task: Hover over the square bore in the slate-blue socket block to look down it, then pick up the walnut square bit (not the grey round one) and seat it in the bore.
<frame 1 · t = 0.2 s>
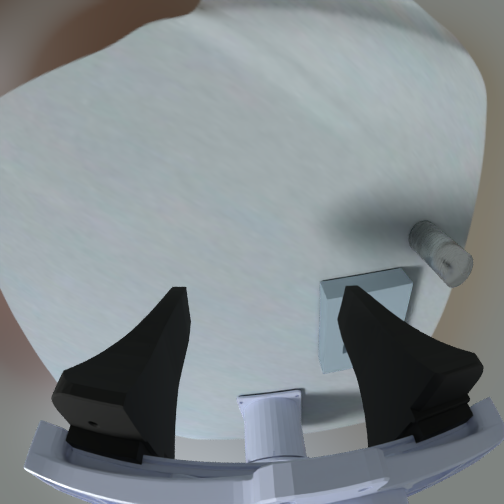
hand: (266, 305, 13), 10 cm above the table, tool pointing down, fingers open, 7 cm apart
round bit: (422, 236, 22), on the table
socket block: (358, 316, 26), on the table
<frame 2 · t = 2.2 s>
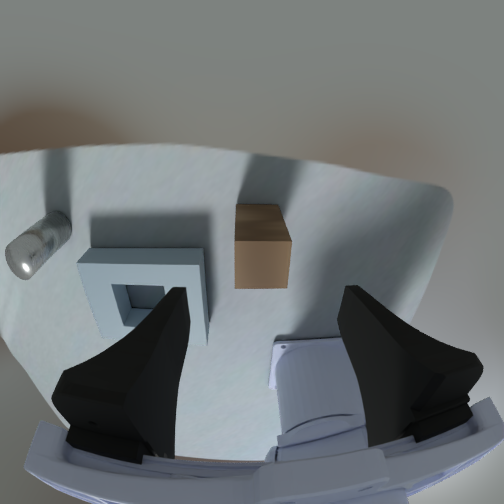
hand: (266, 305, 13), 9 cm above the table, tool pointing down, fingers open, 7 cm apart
square bit: (256, 223, 21), on the table
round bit: (57, 227, 20), on the table
socket block: (149, 289, 23), on the table
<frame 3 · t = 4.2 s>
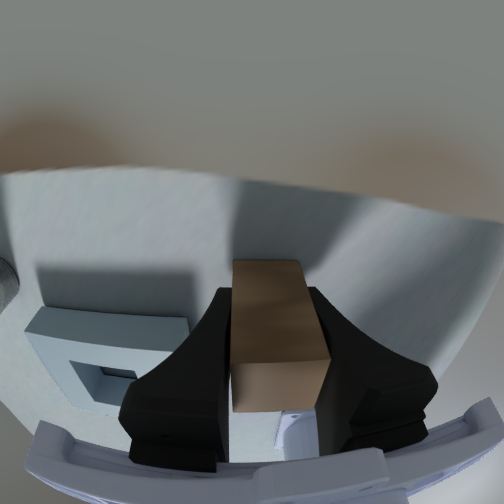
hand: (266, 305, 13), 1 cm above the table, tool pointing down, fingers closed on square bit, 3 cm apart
square bit: (264, 287, 14), on the table, touching gripper
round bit: (3, 277, 13), on the table
socket block: (121, 359, 16), on the table
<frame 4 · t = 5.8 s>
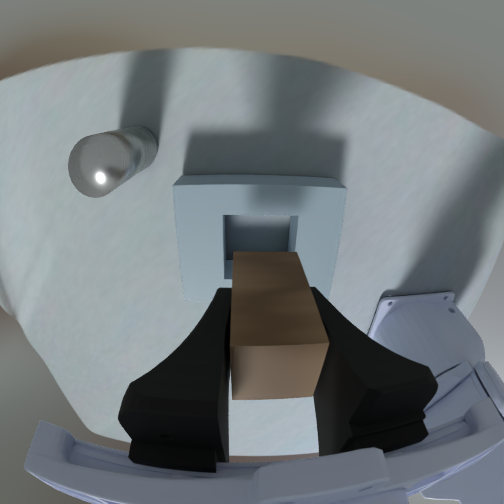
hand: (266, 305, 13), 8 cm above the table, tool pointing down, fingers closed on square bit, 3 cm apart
square bit: (264, 278, 14), point 6 cm above the table, touching gripper
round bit: (135, 148, 16), on the table
socket block: (257, 232, 20), on the table
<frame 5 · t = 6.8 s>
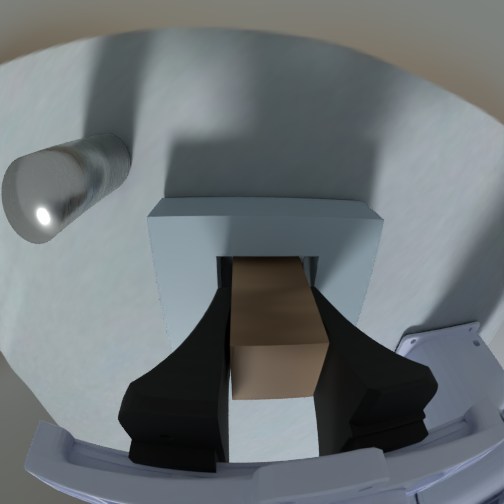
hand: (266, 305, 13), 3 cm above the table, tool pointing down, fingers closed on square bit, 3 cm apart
square bit: (264, 278, 14), point 1 cm above the table, touching gripper
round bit: (103, 163, 12), on the table
socket block: (262, 269, 15), on the table
when the fingers open (3 cm above the table, at t = 7.6 s): square bit drops 1 cm, resting in socket block.
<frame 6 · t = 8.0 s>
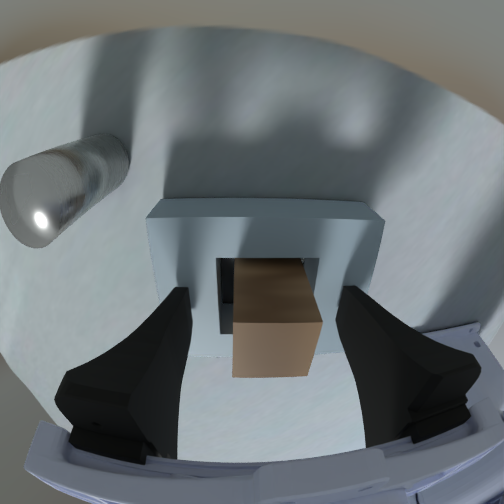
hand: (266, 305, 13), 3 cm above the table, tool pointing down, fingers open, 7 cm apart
square bit: (262, 267, 15), resting in socket block
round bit: (101, 163, 12), on the table
socket block: (262, 271, 15), on the table
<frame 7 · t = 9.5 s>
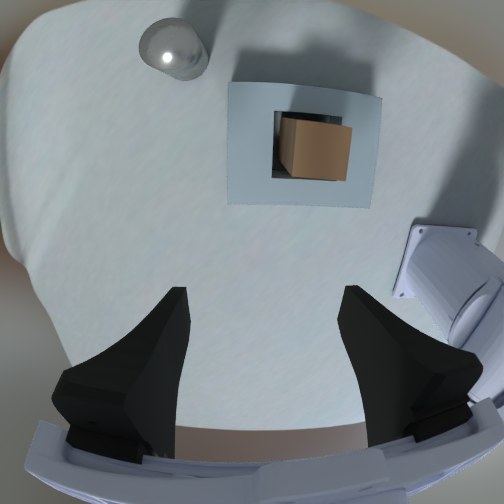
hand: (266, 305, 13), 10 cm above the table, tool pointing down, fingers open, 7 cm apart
square bit: (300, 139, 19), resting in socket block
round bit: (187, 61, 16), on the table
socket block: (299, 142, 19), on the table
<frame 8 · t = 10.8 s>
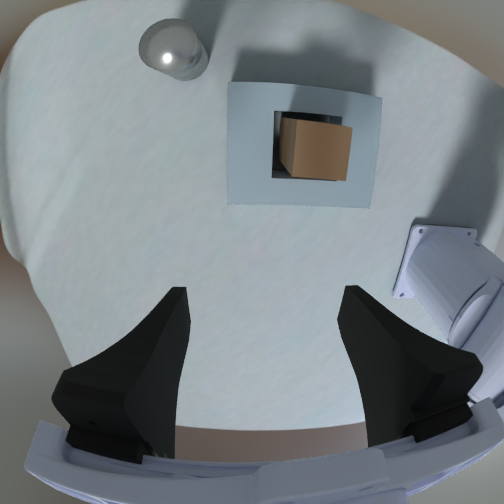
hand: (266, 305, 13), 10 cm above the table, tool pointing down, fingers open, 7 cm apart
square bit: (300, 139, 19), resting in socket block
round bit: (187, 61, 16), on the table
socket block: (299, 142, 19), on the table
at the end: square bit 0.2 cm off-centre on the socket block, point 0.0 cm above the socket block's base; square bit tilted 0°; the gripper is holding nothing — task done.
